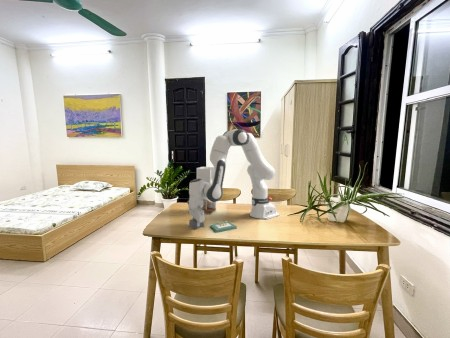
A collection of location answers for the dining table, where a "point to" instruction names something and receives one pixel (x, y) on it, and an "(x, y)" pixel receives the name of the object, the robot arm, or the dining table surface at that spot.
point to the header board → (223, 227)
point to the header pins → (223, 223)
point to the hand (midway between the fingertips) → (196, 224)
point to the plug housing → (193, 224)
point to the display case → (208, 176)
